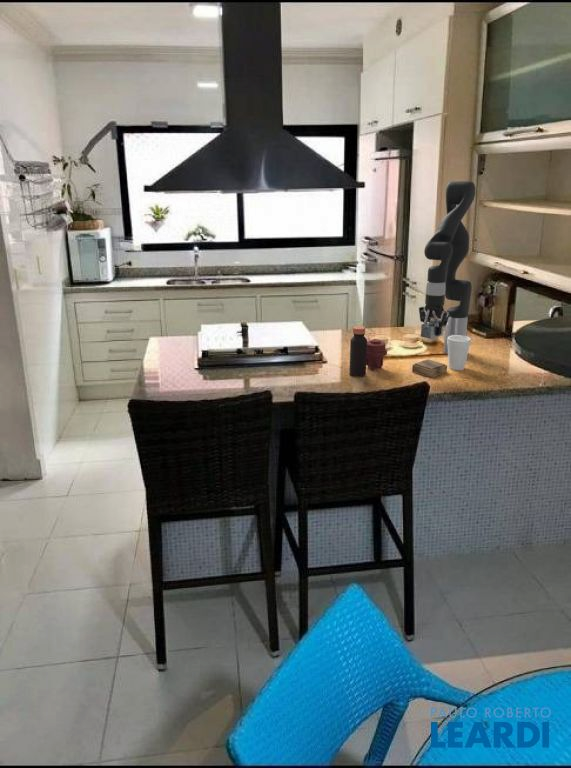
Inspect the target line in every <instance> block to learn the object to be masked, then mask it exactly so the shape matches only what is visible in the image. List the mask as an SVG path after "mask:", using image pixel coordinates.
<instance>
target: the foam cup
mask: <svg viewBox="0 0 571 768" xmlns="http://www.w3.org/2000/svg"><path fill="white" fill-rule="evenodd" d="M471 341H472V338H471V337H469V336H468V335H467V336H461V335H452V336H449V337H448V338H447V344H448V354H447V357H448V359H447V360H448V369H450V370H454V371H464V369H465V367H466V363H467V359H468V355H469V350H470V347H471V344H472V342H471Z"/></svg>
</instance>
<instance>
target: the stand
mask: <svg viewBox="0 0 571 768" xmlns="http://www.w3.org/2000/svg"><path fill="white" fill-rule="evenodd" d="M447 371H448V365H447V364H445V363H441V362H438V361H437V360H436V361H435V360H432V359H425V360H422V361H419V362H415V363H414V364H412V373H416V374H418V375H422V376H424V377H425V376H426V377H427V378H434V377H437V376H440V375H443V374H446V373H447Z"/></svg>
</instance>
